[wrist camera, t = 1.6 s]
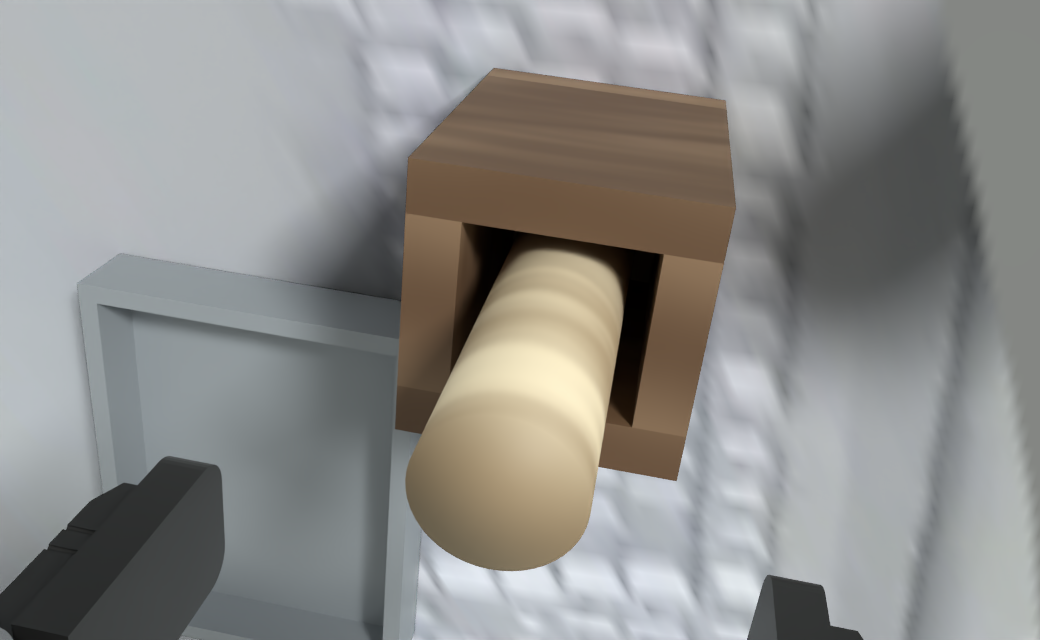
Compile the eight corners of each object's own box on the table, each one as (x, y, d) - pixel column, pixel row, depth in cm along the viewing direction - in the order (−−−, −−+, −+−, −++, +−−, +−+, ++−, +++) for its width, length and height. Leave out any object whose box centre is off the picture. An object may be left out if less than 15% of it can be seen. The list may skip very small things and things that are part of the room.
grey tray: (119, 253, 32) (76, 283, 30) (436, 307, 31) (416, 342, 29) (152, 578, 39) (118, 622, 36) (414, 632, 37) (396, 681, 35)
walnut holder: (493, 67, 27) (408, 157, 19) (725, 100, 26) (735, 207, 19) (475, 276, 30) (394, 429, 22) (683, 310, 29) (676, 481, 22)
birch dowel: (543, 147, 27) (410, 399, 15) (648, 163, 27) (603, 434, 14) (532, 245, 28) (401, 551, 16) (632, 261, 28) (578, 586, 16)
